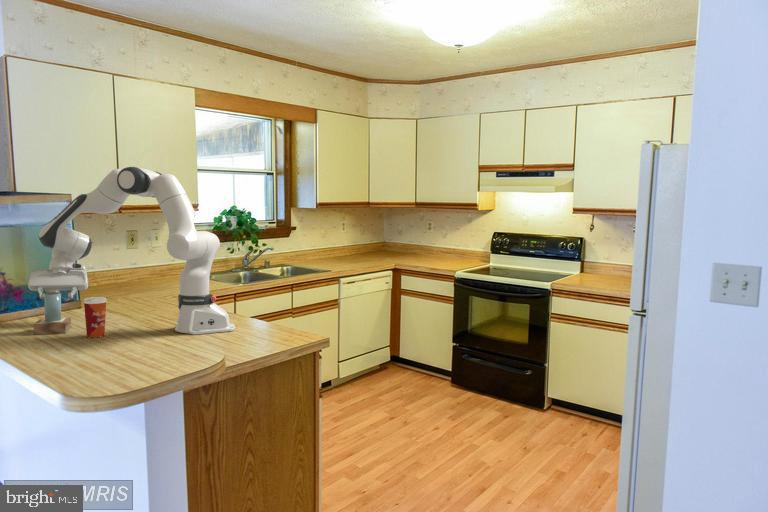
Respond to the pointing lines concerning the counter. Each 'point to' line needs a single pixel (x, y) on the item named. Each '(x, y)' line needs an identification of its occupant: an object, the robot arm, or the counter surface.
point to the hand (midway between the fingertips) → (56, 297)
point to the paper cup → (95, 316)
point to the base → (52, 326)
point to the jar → (52, 305)
